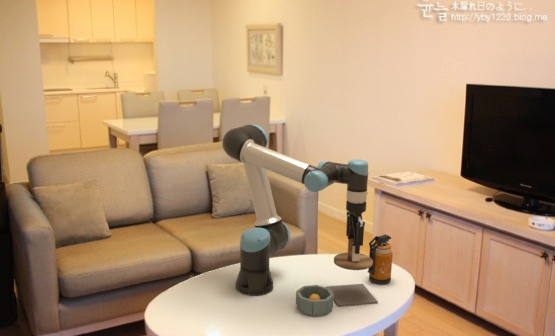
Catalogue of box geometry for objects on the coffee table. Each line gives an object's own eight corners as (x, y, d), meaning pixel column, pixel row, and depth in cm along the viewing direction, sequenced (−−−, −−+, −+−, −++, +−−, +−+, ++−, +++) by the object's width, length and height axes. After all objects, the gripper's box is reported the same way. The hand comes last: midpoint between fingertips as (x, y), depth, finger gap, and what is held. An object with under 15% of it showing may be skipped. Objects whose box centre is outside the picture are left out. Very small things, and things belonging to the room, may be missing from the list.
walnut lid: (328, 256, 224) (329, 234, 221) (364, 253, 227) (365, 232, 225) (341, 271, 209) (342, 248, 207) (378, 268, 213) (380, 246, 211)
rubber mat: (325, 288, 227) (325, 286, 227) (362, 285, 231) (362, 283, 231) (337, 306, 212) (338, 305, 212) (377, 303, 216) (377, 301, 216)
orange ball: (307, 303, 213) (307, 292, 212) (318, 302, 214) (318, 291, 212) (310, 308, 208) (310, 297, 207) (321, 307, 209) (322, 296, 208)
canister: (395, 281, 235) (398, 236, 230) (375, 288, 229) (378, 241, 224) (379, 274, 242) (383, 230, 237) (360, 279, 236) (363, 235, 231)
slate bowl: (293, 301, 216) (293, 286, 215) (325, 298, 219) (326, 284, 217) (302, 317, 204) (302, 302, 202) (336, 314, 206) (337, 299, 205)
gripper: (374, 207, 205) (370, 266, 210) (357, 193, 221) (354, 249, 227) (355, 208, 203) (351, 268, 209) (339, 194, 220) (336, 250, 225)
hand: (353, 258), depth 218 cm, fingers closed on walnut lid, 4 cm apart
